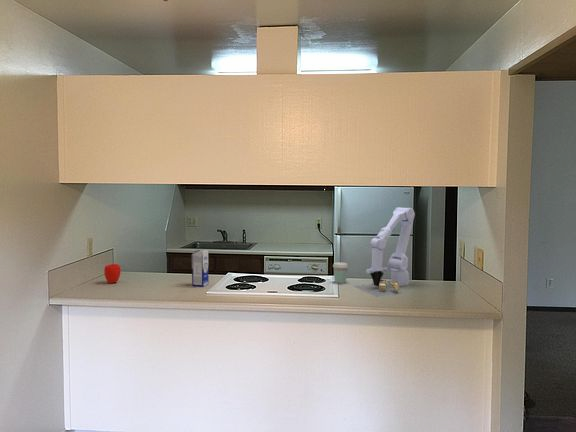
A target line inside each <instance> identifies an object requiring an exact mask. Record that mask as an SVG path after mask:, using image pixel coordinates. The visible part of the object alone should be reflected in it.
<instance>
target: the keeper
mask: <svg viewBox="0 0 576 432" xmlns="http://www.w3.org/2000/svg"><path fill="white" fill-rule="evenodd" d="M388 284H390V285H391V284H392V285H391V286H393V289H394V293H396V294H397V293H398V291H399V286H398V285H399V283H397V282H395V281H391V280H388ZM397 295H398V294H397Z"/></svg>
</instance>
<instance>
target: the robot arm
mask: <svg viewBox="0 0 576 432" xmlns="http://www.w3.org/2000/svg"><path fill="white" fill-rule="evenodd" d="M415 213H416V212H415V210H414V209H413V208H412V207H400V206H397V207H396V208H395V209H394V210H393V212H392V216H391V218H390V220H389V221H388V223H387V225H386V226H385V227H383V226H382V227H381V228H380V231H379V232H378V234H377V235H376V236H375V237H374V238H372V239H371V240H370V243H369V246H370V248H371V250H370V251H371V267H369V268H367V269H366V270H365V273H366V274H369V275H370V276H371V279H372V284H374V285H375V286H379V282H380V280H381V279H382V277H383V276H384V272H388V267H389V268H390V269H389V270H390V281H395V282H397V283H399V285H398V287H401V286H403V287H404V286H409V285H410V273H409V271H408V270H407V269H408V266H409V257H408V256H407V255H406V253H407V248H408V245H409V241H410V236H411V234H412V228H413V225H414V219H415V216H416V214H415ZM399 223H401V228H400V229H401V230H400V232H399V236H398V237H399V238H398V240H397V244H396V249H395V252H393V253H392V254H391V255H390V257H389V260H388V262H387V264H388V267H386V266H383V262H384V259H383V258H384V249H385V248H386V247H387V242H388V240H389V239H390V237H391V236H392V234H393V233H392V230H394V228H395V227H396V226H397V225H398V224H399ZM390 285H391V286H393V285H392V284H390Z"/></svg>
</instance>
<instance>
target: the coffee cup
mask: <svg viewBox="0 0 576 432" xmlns="http://www.w3.org/2000/svg"><path fill="white" fill-rule="evenodd" d="M332 267H333V277H334V283H335V284H338V285H344V284H346V282H347V275H348V274H347V273H348V267H349V266H348V263H347V262H341V261H340V262H337V261H335V262H334V263H333V264H332Z"/></svg>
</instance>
